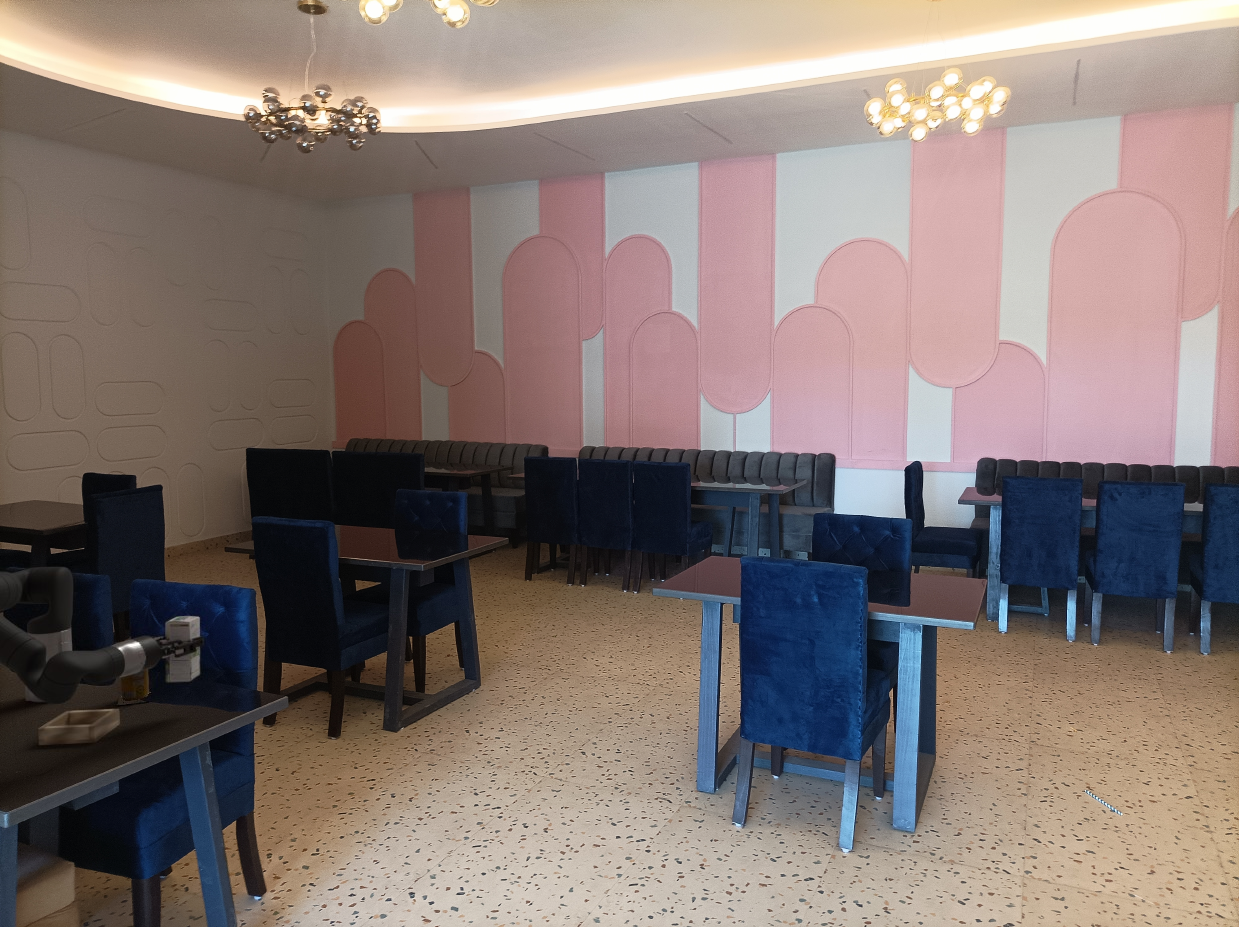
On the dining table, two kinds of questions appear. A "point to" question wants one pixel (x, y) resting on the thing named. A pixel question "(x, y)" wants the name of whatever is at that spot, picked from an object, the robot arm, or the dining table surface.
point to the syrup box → (183, 630)
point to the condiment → (135, 686)
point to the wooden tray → (79, 726)
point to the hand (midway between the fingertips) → (190, 639)
